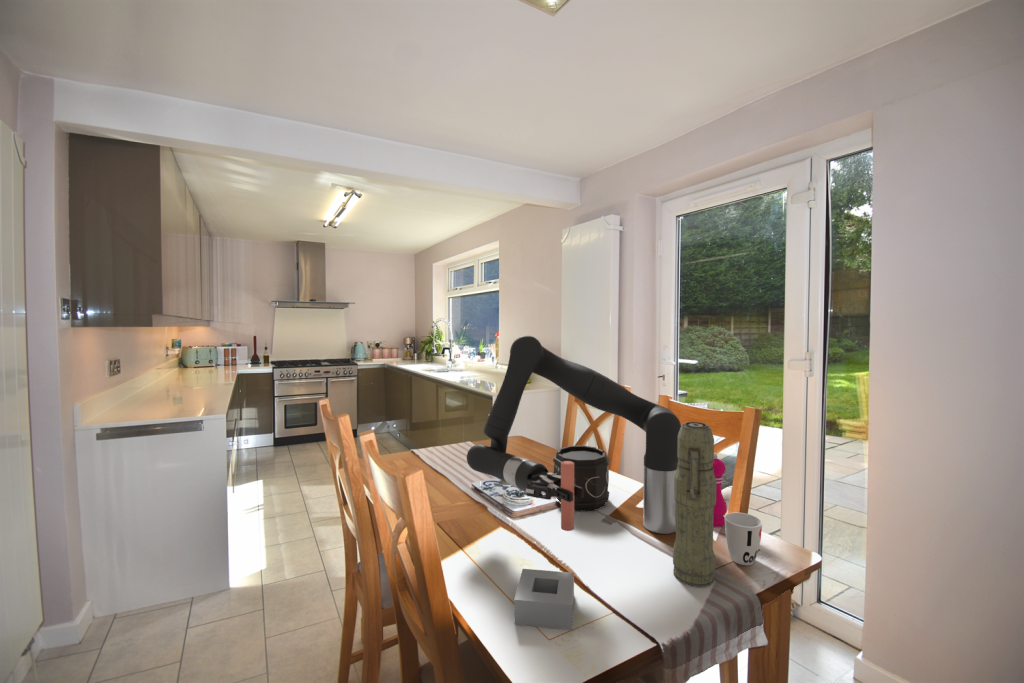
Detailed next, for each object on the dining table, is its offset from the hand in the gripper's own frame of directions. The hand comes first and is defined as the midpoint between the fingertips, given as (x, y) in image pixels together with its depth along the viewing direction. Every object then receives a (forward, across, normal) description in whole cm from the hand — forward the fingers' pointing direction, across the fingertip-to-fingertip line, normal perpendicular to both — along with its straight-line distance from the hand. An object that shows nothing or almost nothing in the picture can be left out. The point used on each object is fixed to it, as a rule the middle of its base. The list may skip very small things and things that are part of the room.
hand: (577, 495), depth 104 cm
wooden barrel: (-29, +34, +20) cm, 49 cm away
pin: (-3, 0, +8) cm, 9 cm away
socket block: (+2, -12, +20) cm, 23 cm away
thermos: (+16, +21, +20) cm, 33 cm away
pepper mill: (+6, +51, +20) cm, 55 cm away
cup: (+20, +37, +20) cm, 46 cm away
